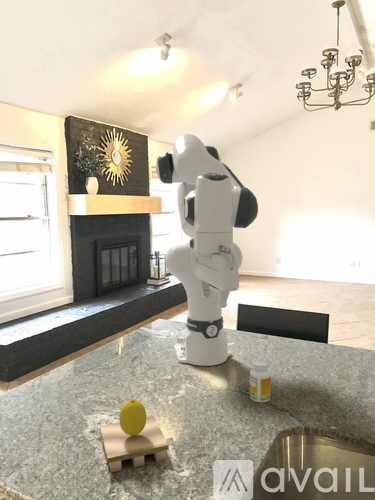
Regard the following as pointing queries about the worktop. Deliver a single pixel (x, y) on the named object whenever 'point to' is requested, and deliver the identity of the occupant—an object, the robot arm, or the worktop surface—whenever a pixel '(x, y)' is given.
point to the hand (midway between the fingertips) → (213, 302)
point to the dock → (133, 444)
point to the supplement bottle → (260, 381)
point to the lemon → (132, 417)
